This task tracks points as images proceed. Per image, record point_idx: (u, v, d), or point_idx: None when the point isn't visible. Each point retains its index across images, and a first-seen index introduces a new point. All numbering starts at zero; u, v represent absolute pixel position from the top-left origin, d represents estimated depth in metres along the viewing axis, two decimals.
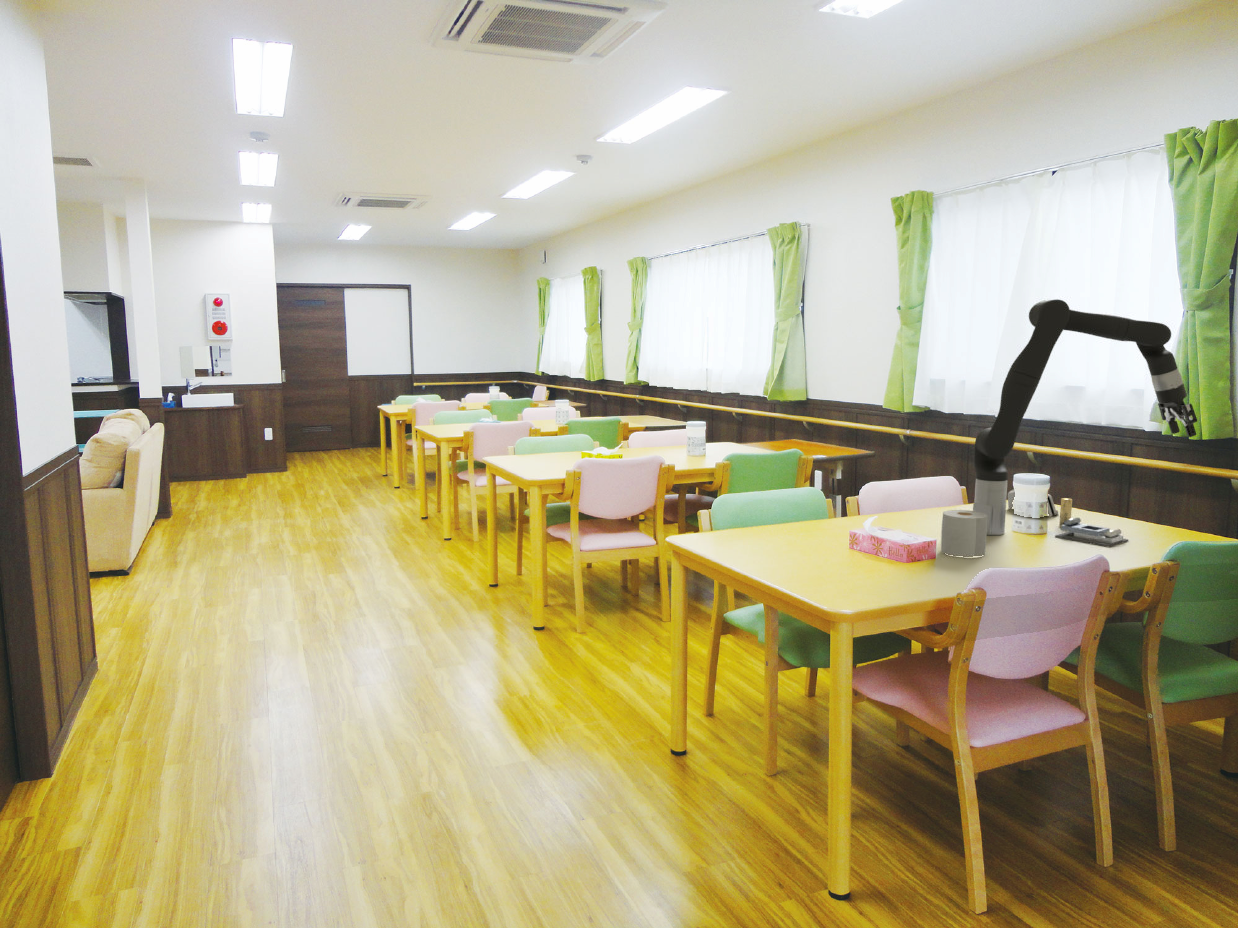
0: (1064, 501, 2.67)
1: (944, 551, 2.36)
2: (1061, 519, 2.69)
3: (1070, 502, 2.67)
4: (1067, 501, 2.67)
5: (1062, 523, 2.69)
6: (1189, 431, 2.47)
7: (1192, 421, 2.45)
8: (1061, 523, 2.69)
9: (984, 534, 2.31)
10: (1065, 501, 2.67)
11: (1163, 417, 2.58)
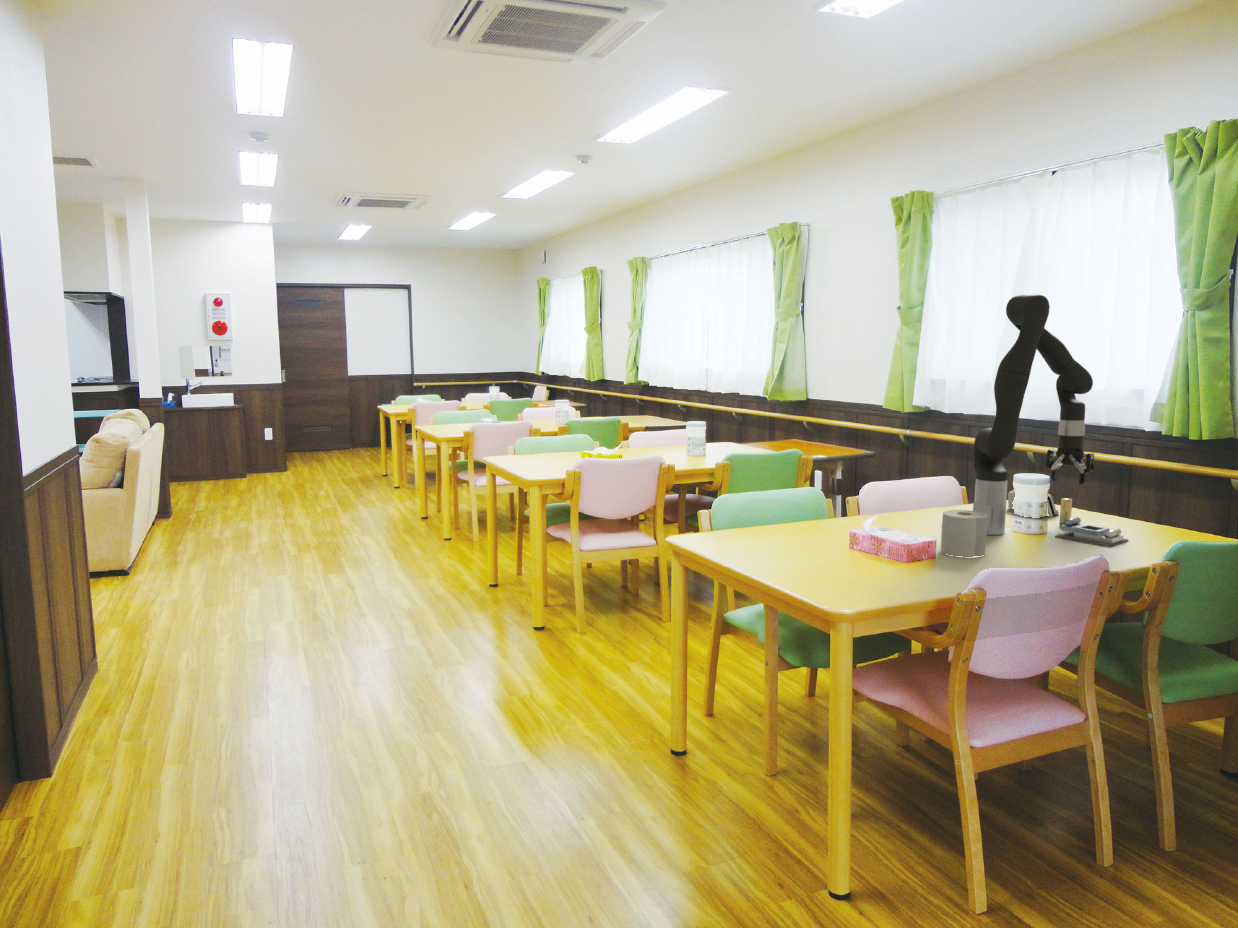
0: (1064, 501, 2.67)
1: (944, 551, 2.36)
2: (1061, 519, 2.69)
3: (1070, 502, 2.67)
4: (1067, 501, 2.67)
5: (1062, 523, 2.69)
6: (1083, 479, 2.63)
7: (1091, 469, 2.61)
8: (1061, 523, 2.69)
9: (984, 534, 2.31)
10: (1065, 501, 2.67)
11: (1048, 464, 2.71)
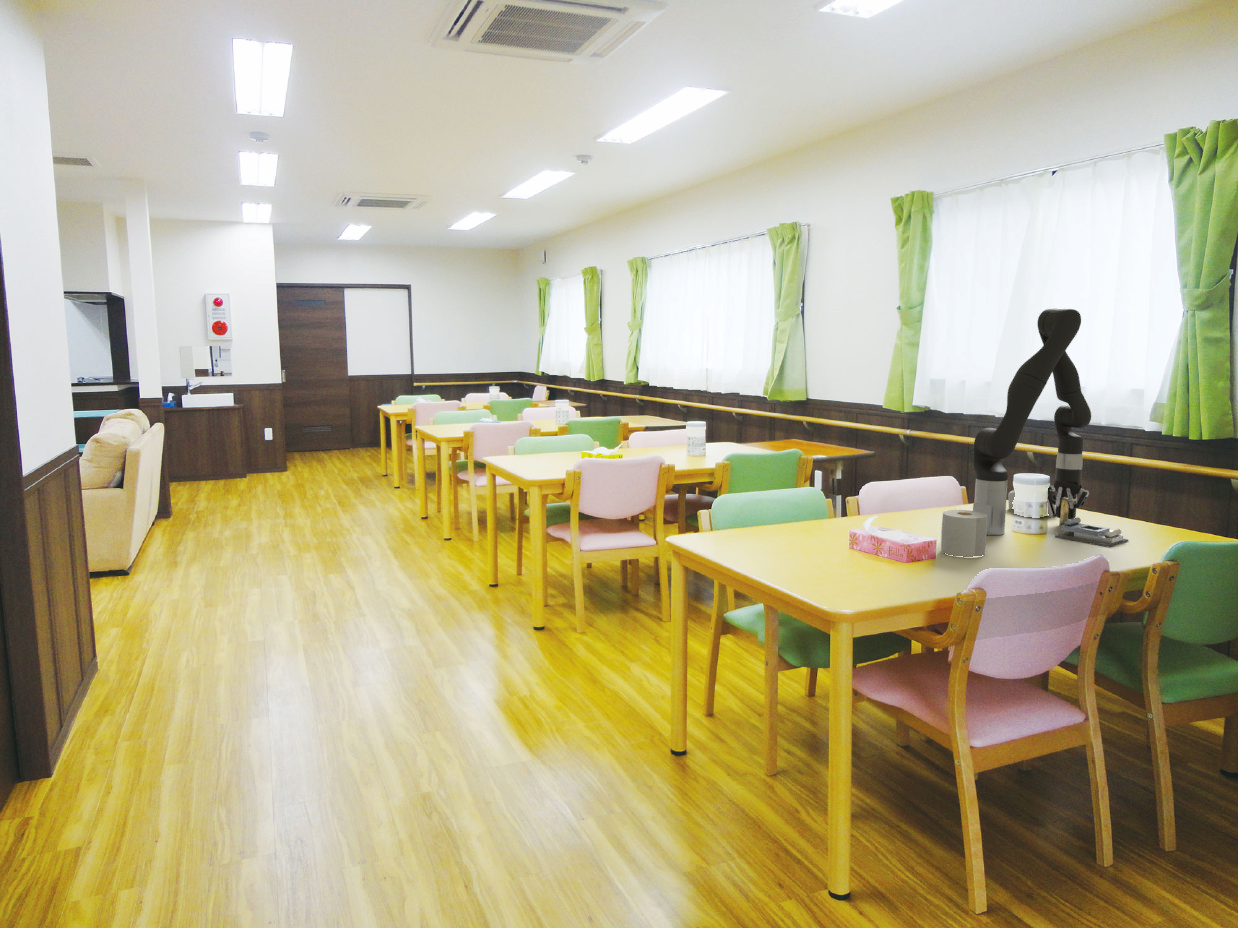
0: (1064, 501, 2.67)
1: (944, 551, 2.36)
2: (1061, 519, 2.69)
3: None
4: (1067, 501, 2.67)
5: (1062, 523, 2.69)
6: (1072, 514, 2.66)
7: (1081, 505, 2.65)
8: (1061, 523, 2.69)
9: (984, 534, 2.31)
10: (1065, 501, 2.67)
11: (1053, 500, 2.71)
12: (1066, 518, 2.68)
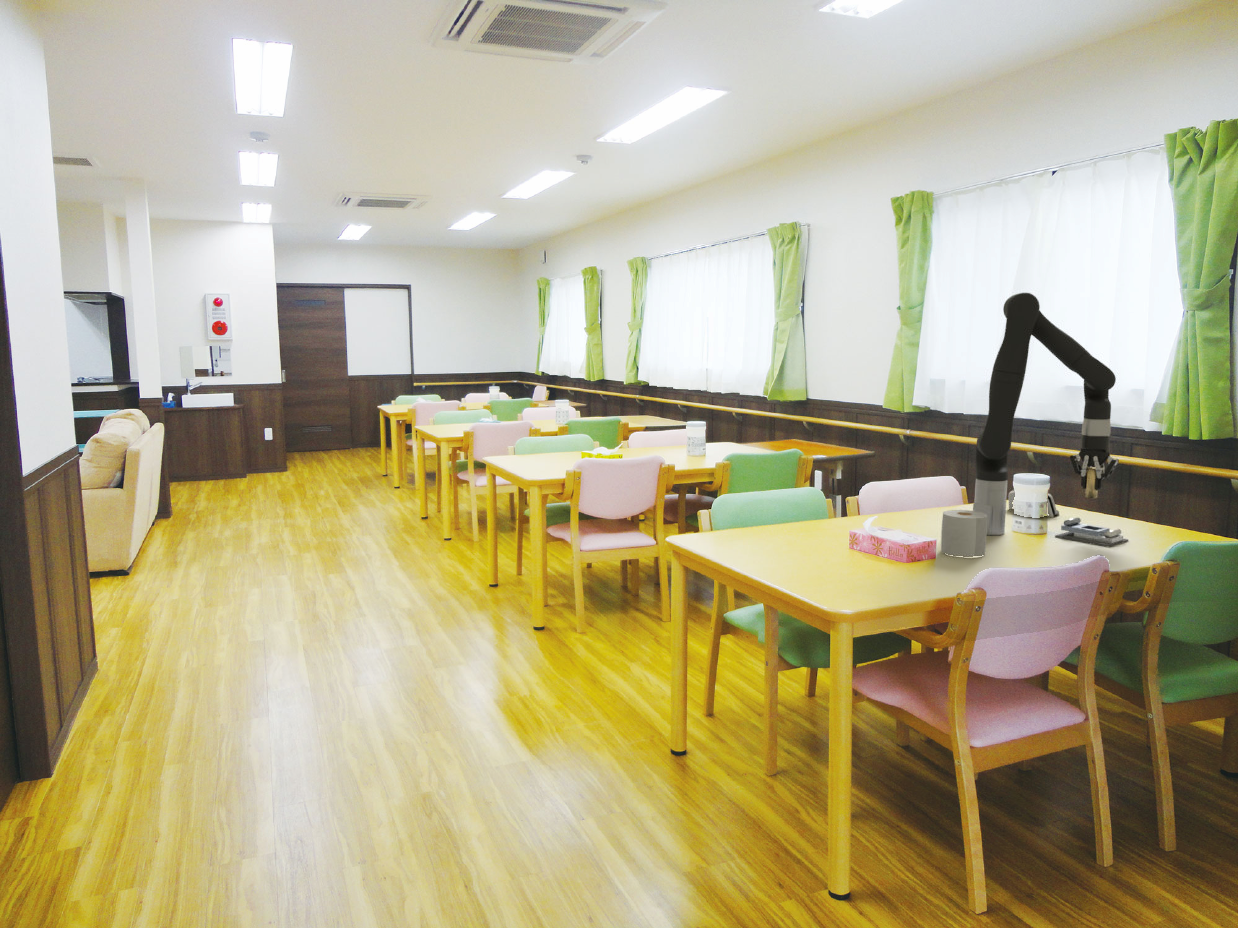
0: (1091, 470, 2.50)
1: (944, 551, 2.36)
2: (1087, 490, 2.51)
3: None
4: (1094, 470, 2.49)
5: (1088, 494, 2.51)
6: (1099, 484, 2.49)
7: (1109, 474, 2.47)
8: (1087, 494, 2.51)
9: (984, 534, 2.31)
10: (1092, 470, 2.50)
11: (1078, 470, 2.53)
12: (1093, 489, 2.50)
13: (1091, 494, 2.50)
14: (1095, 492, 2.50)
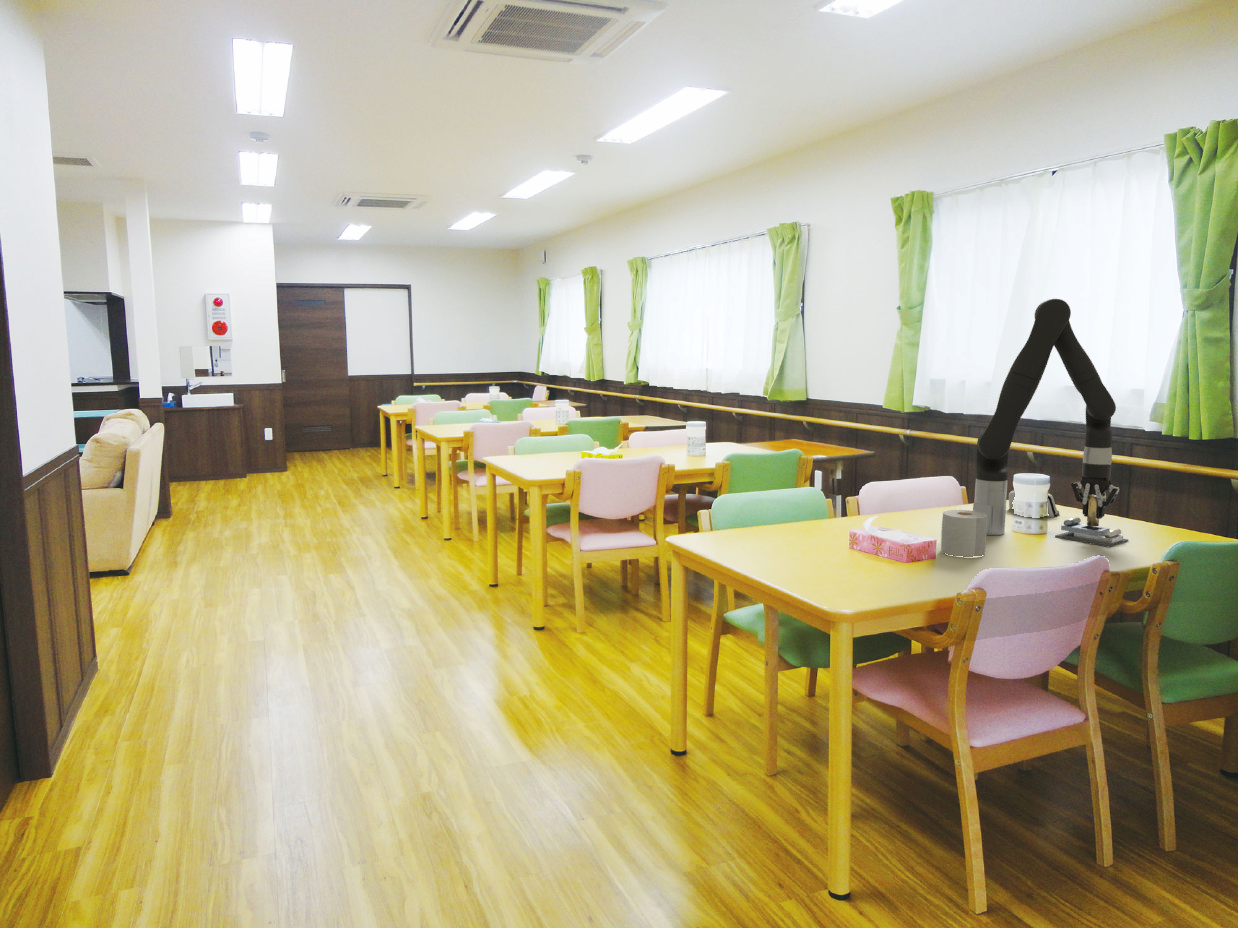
0: (1092, 498, 2.49)
1: (944, 551, 2.36)
2: (1089, 518, 2.50)
3: None
4: (1095, 498, 2.48)
5: (1090, 522, 2.50)
6: (1101, 512, 2.48)
7: (1110, 503, 2.46)
8: (1089, 522, 2.50)
9: (984, 534, 2.31)
10: (1093, 498, 2.48)
11: (1080, 498, 2.52)
12: (1094, 517, 2.49)
13: (1093, 522, 2.49)
14: (1097, 520, 2.49)
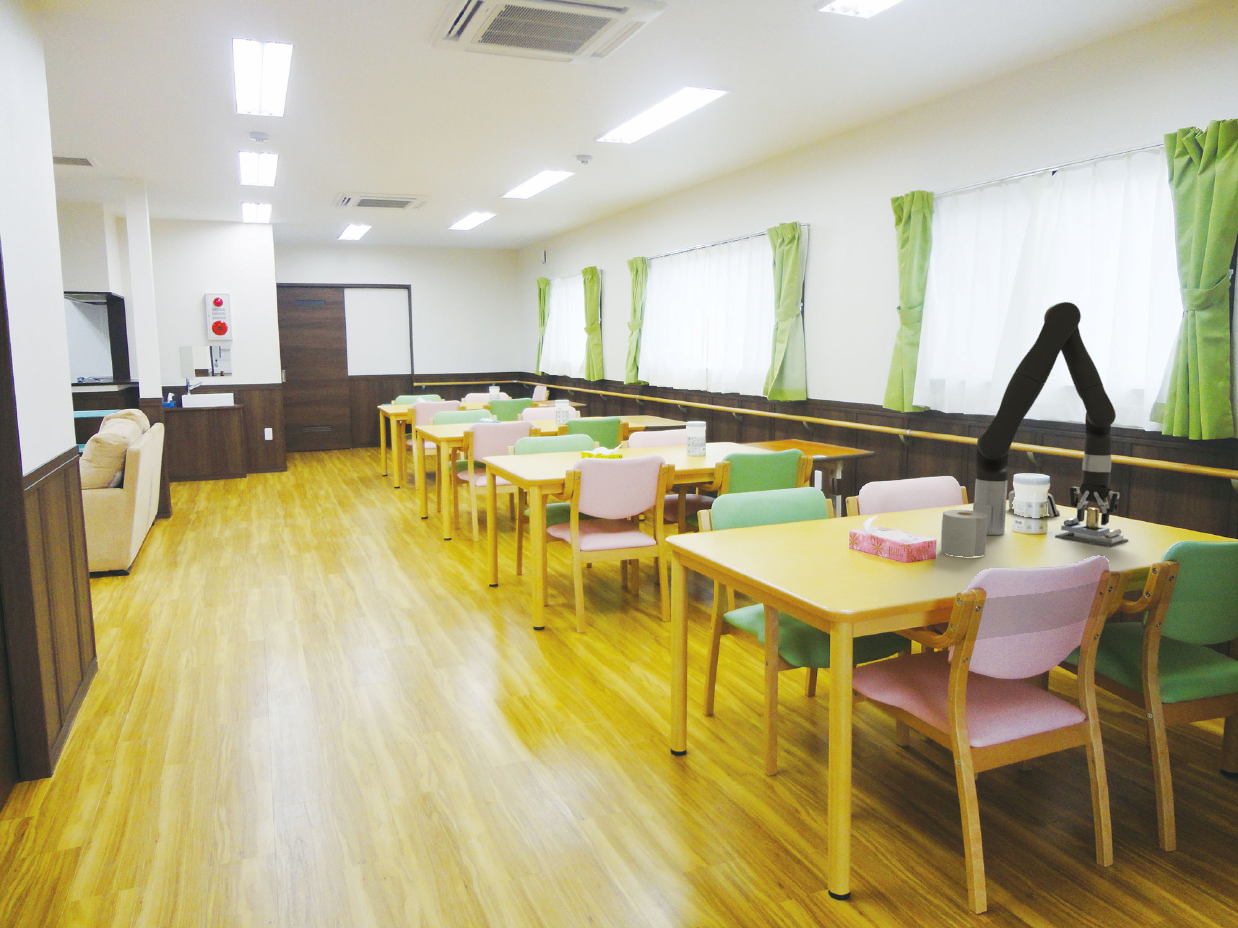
0: (1091, 511, 2.49)
1: (944, 551, 2.36)
2: None
3: (1097, 512, 2.49)
4: (1094, 511, 2.49)
5: None
6: (1105, 519, 2.47)
7: (1114, 509, 2.45)
8: None
9: (984, 534, 2.31)
10: (1092, 511, 2.49)
11: (1074, 503, 2.53)
12: (1093, 529, 2.49)
13: None
14: None
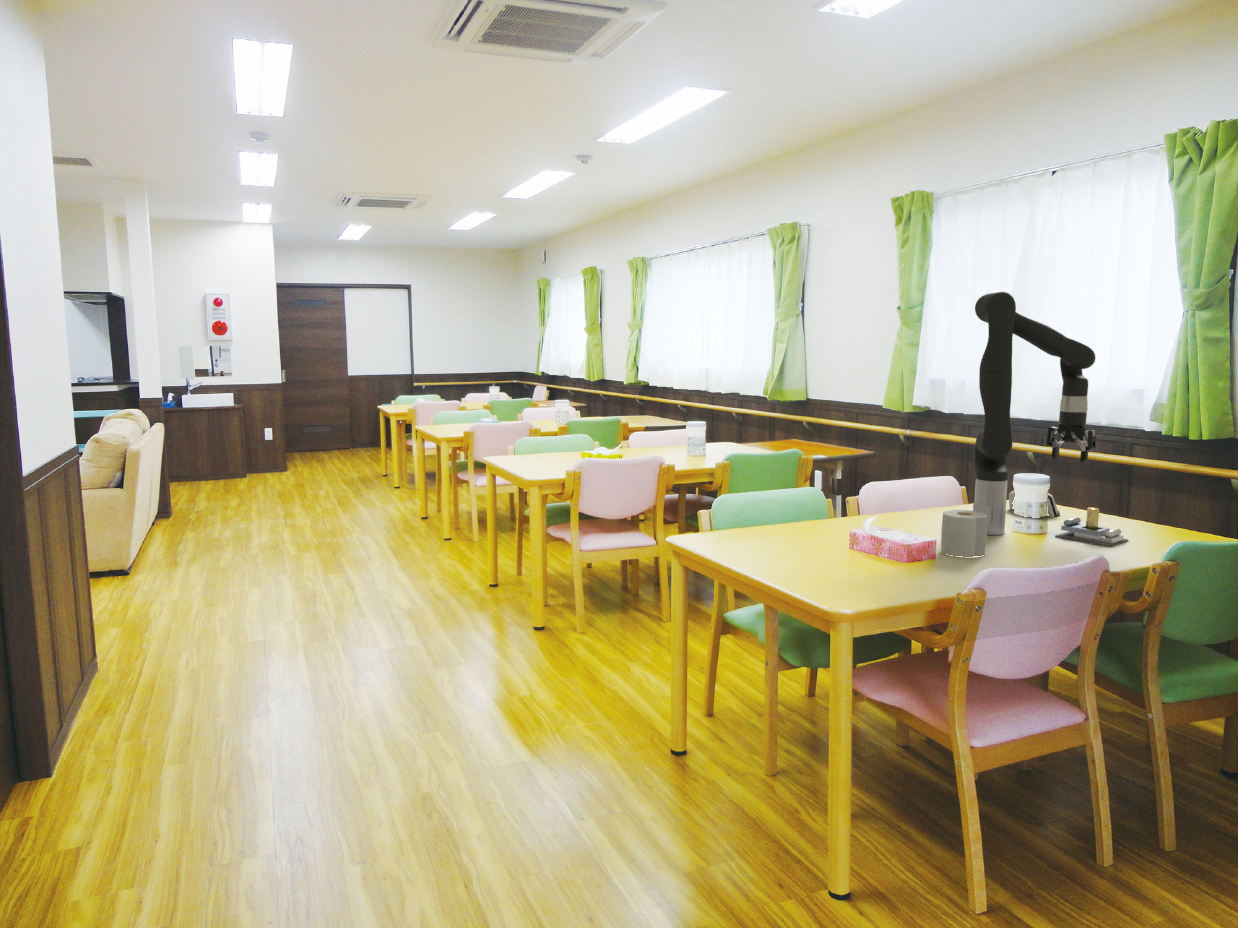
0: (1091, 511, 2.49)
1: (944, 551, 2.36)
2: None
3: (1097, 512, 2.49)
4: (1094, 511, 2.49)
5: None
6: (1084, 457, 2.55)
7: (1093, 447, 2.53)
8: None
9: (984, 534, 2.31)
10: (1092, 511, 2.49)
11: (1049, 442, 2.63)
12: (1093, 529, 2.49)
13: None
14: None
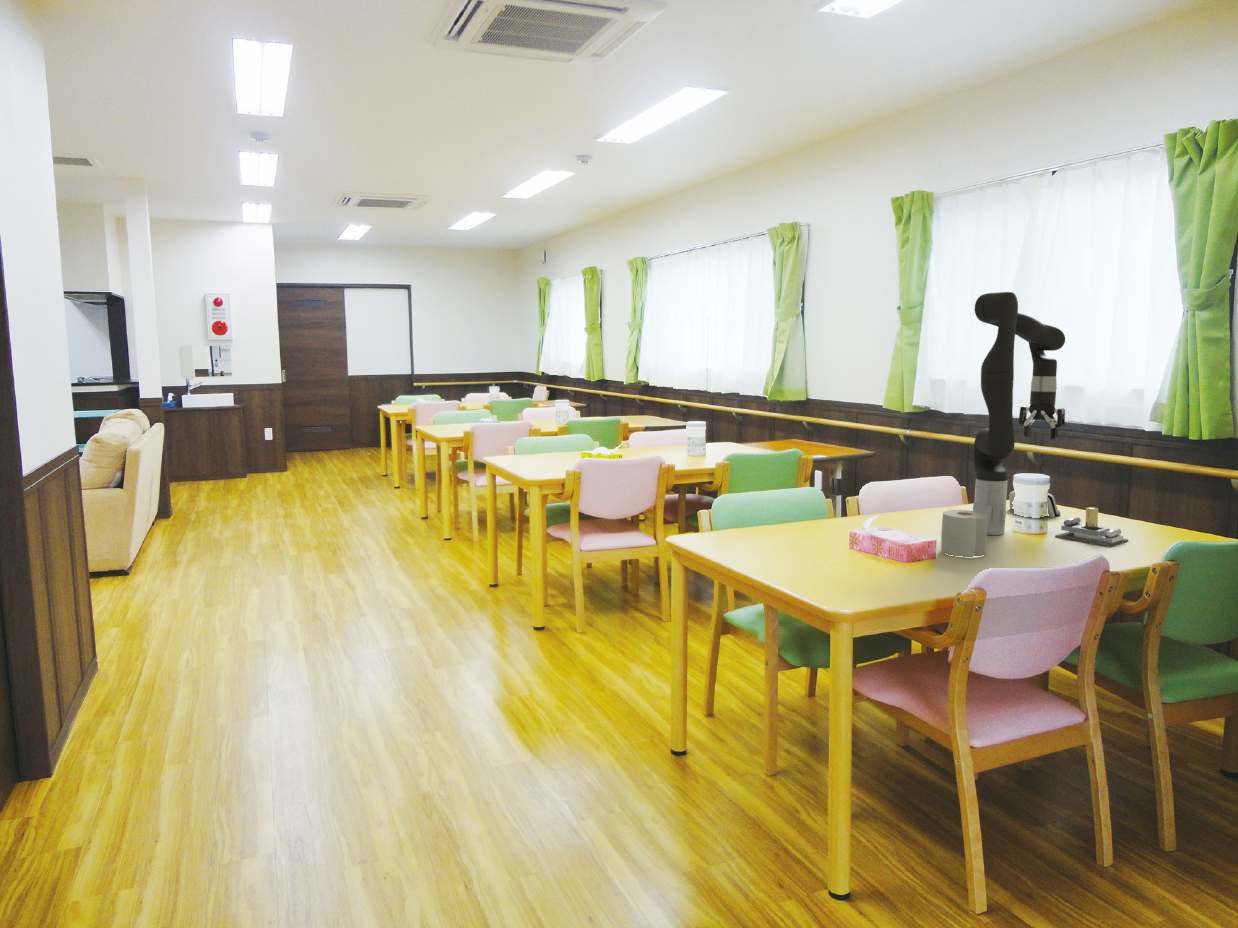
0: (1090, 511, 2.49)
1: (944, 551, 2.36)
2: None
3: (1096, 511, 2.49)
4: (1093, 511, 2.49)
5: None
6: (1054, 434, 2.69)
7: (1062, 424, 2.67)
8: None
9: (984, 534, 2.31)
10: (1091, 511, 2.49)
11: (1021, 420, 2.77)
12: (1093, 529, 2.50)
13: None
14: None
